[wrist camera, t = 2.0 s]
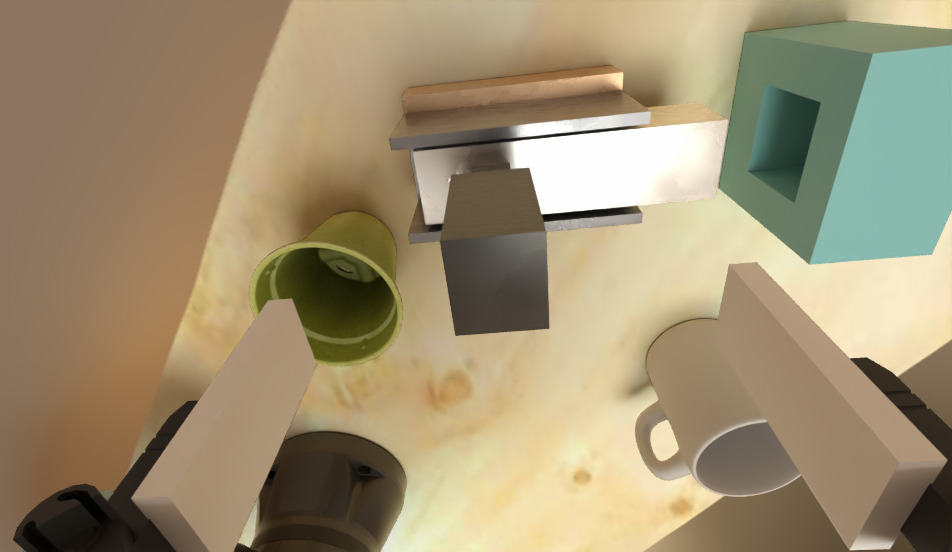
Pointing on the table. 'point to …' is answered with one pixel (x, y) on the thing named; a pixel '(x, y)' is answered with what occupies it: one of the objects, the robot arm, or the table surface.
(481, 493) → the table surface
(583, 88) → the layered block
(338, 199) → the table surface
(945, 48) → the socket block
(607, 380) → the table surface
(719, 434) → the mug
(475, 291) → the grey sliding latch bolt
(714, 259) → the table surface
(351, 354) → the plant pot
